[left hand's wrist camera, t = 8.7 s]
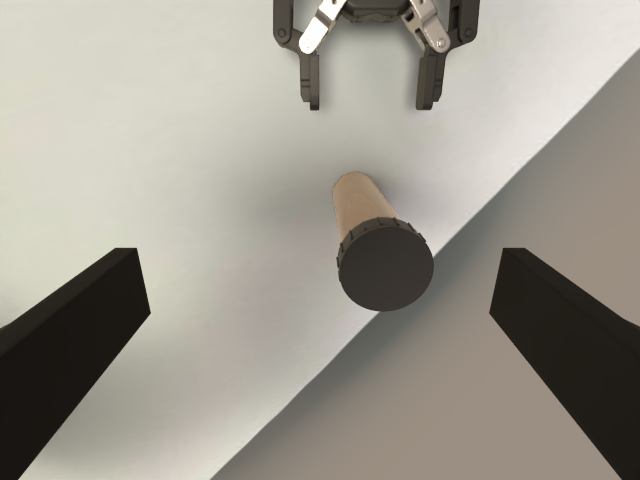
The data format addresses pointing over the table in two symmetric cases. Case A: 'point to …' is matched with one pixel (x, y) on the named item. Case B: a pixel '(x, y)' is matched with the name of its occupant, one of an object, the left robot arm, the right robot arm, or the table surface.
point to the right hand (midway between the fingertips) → (369, 110)
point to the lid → (384, 264)
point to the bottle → (358, 202)
